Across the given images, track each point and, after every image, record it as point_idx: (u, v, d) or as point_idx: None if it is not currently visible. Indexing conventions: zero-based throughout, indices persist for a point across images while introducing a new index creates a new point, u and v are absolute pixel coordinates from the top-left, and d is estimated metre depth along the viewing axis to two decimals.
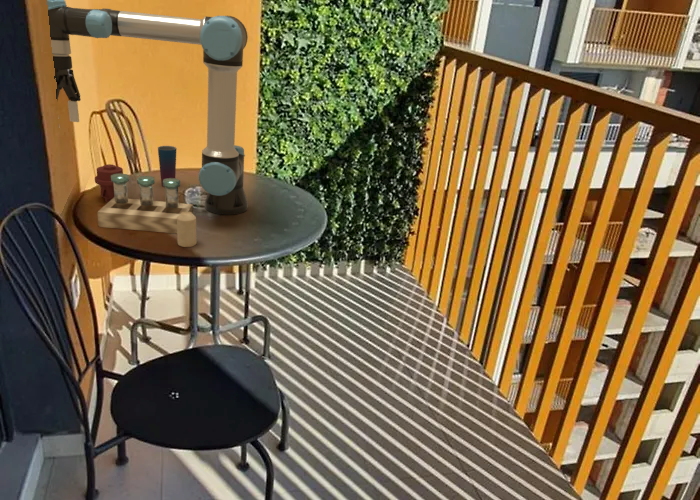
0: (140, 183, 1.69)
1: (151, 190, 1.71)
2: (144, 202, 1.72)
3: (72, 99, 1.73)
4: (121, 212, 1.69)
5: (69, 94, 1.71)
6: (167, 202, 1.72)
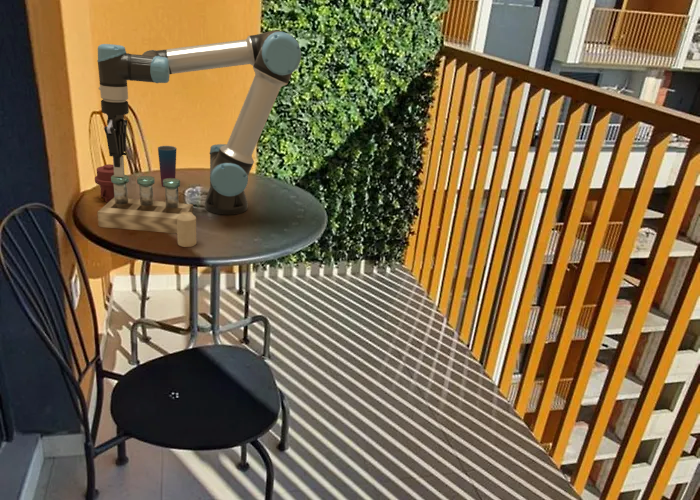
0: (140, 183, 1.69)
1: (151, 190, 1.71)
2: (144, 202, 1.72)
3: None
4: (121, 212, 1.69)
5: None
6: (167, 202, 1.72)
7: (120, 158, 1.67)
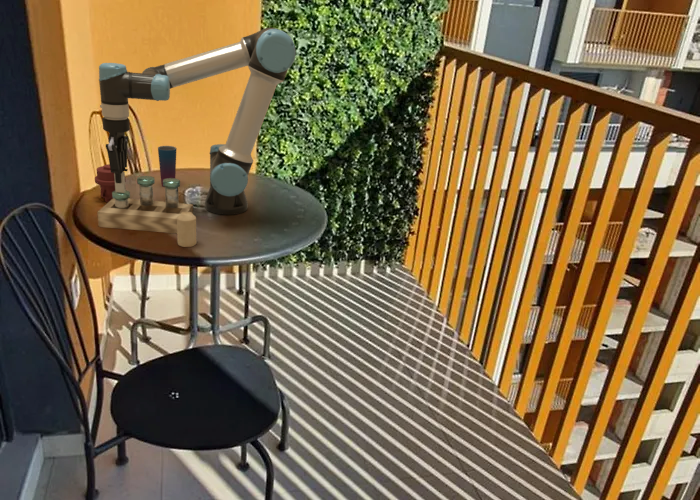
0: (140, 183, 1.69)
1: (151, 190, 1.71)
2: (144, 202, 1.72)
3: None
4: (121, 212, 1.69)
5: None
6: (167, 202, 1.72)
7: (121, 174, 1.69)
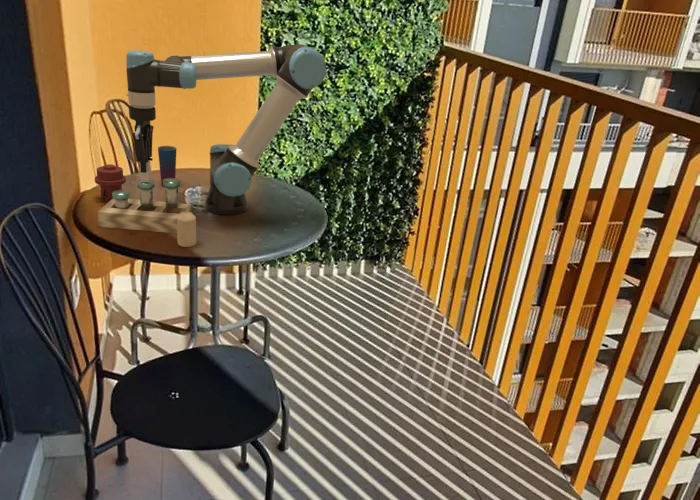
0: (140, 187, 1.69)
1: (151, 194, 1.72)
2: (144, 206, 1.72)
3: None
4: (121, 212, 1.69)
5: None
6: (167, 202, 1.72)
7: (146, 163, 1.68)
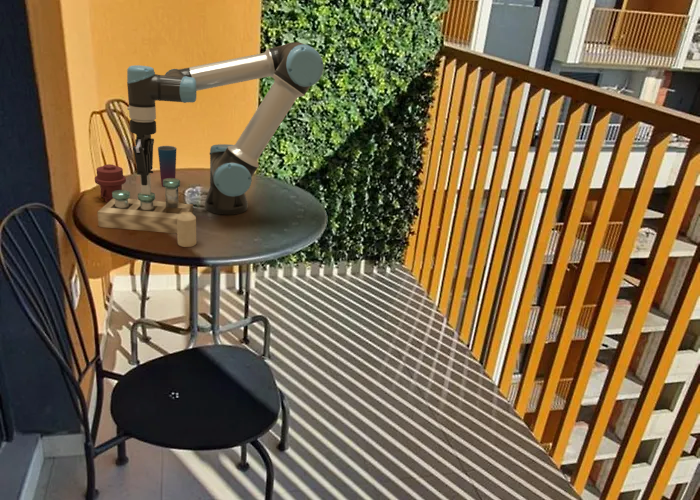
0: (141, 199, 1.71)
1: (152, 206, 1.74)
2: None
3: None
4: (121, 212, 1.69)
5: None
6: (167, 202, 1.72)
7: (147, 176, 1.69)
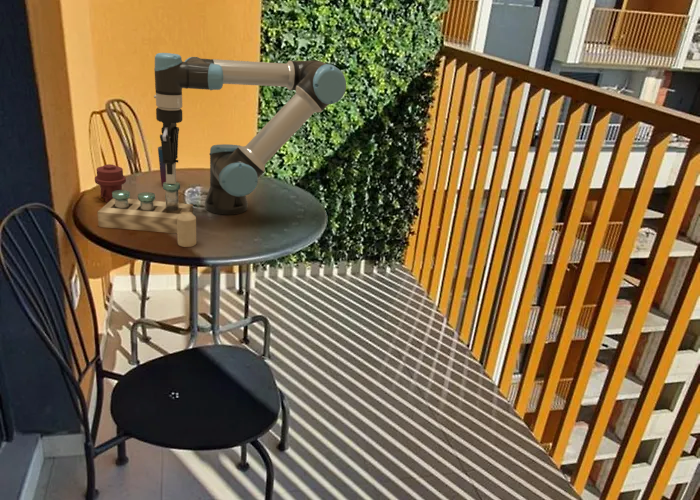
0: (141, 200, 1.71)
1: (152, 206, 1.74)
2: None
3: None
4: (121, 212, 1.69)
5: None
6: (167, 205, 1.73)
7: (173, 165, 1.68)
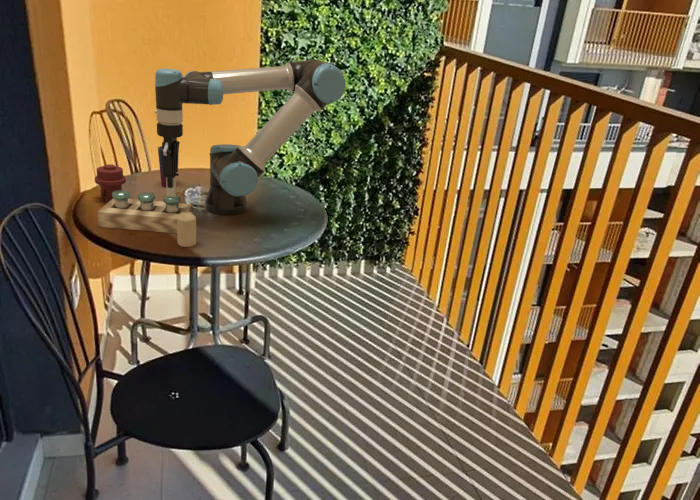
0: (141, 200, 1.71)
1: (152, 206, 1.74)
2: None
3: None
4: (121, 212, 1.69)
5: None
6: None
7: (173, 179, 1.70)
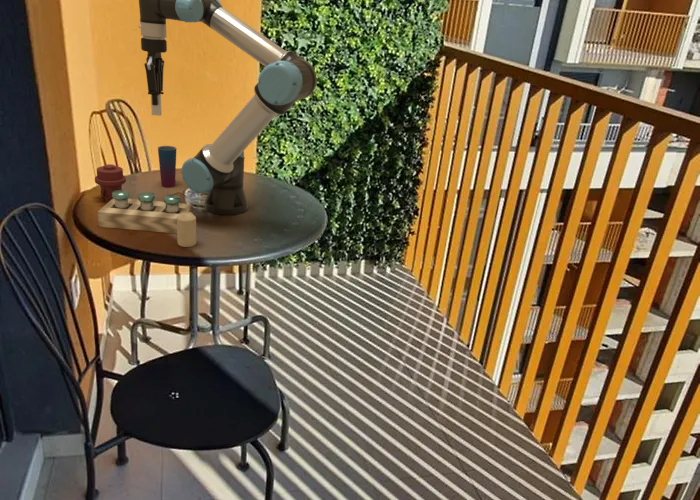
0: (141, 200, 1.71)
1: (152, 206, 1.74)
2: None
3: None
4: (121, 212, 1.69)
5: None
6: None
7: (158, 96, 1.73)
